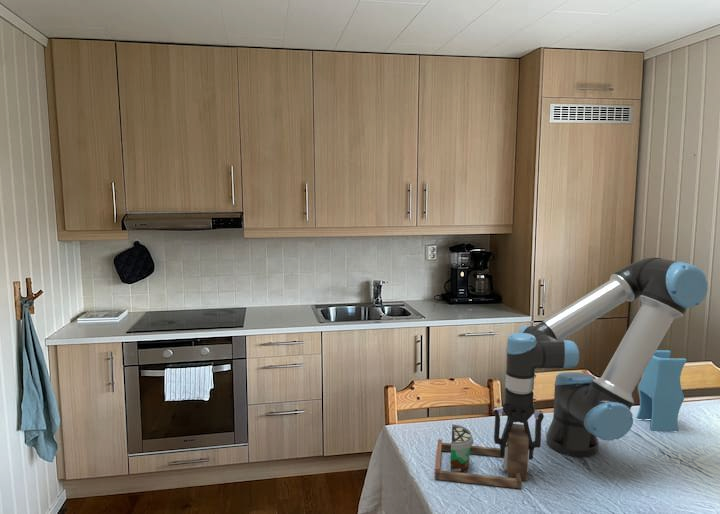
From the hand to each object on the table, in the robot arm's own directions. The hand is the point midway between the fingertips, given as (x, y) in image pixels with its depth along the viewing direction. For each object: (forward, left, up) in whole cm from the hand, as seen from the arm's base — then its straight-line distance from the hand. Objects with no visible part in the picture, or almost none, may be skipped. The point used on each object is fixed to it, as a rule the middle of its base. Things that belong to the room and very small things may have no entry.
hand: (515, 467), depth 145 cm
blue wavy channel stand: (-51, -41, -1) cm, 65 cm away
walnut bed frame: (+10, 0, -1) cm, 10 cm away
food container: (+15, 0, -1) cm, 15 cm away
